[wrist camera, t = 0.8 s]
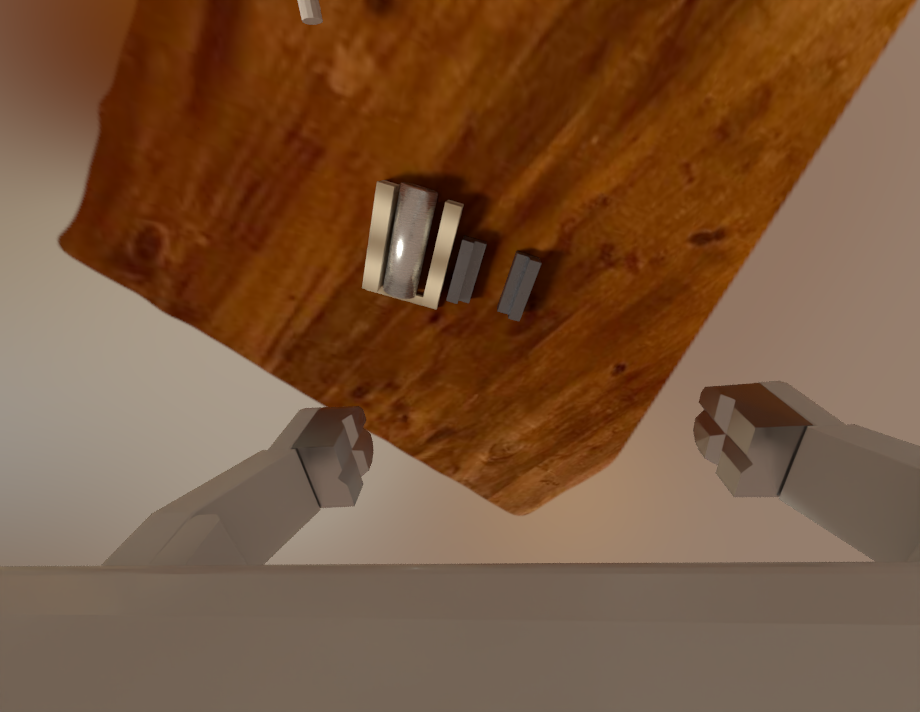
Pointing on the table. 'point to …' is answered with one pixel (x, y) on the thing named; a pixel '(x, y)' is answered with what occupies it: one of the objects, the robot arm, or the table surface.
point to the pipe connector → (310, 11)
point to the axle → (409, 240)
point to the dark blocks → (516, 282)
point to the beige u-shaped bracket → (382, 237)
